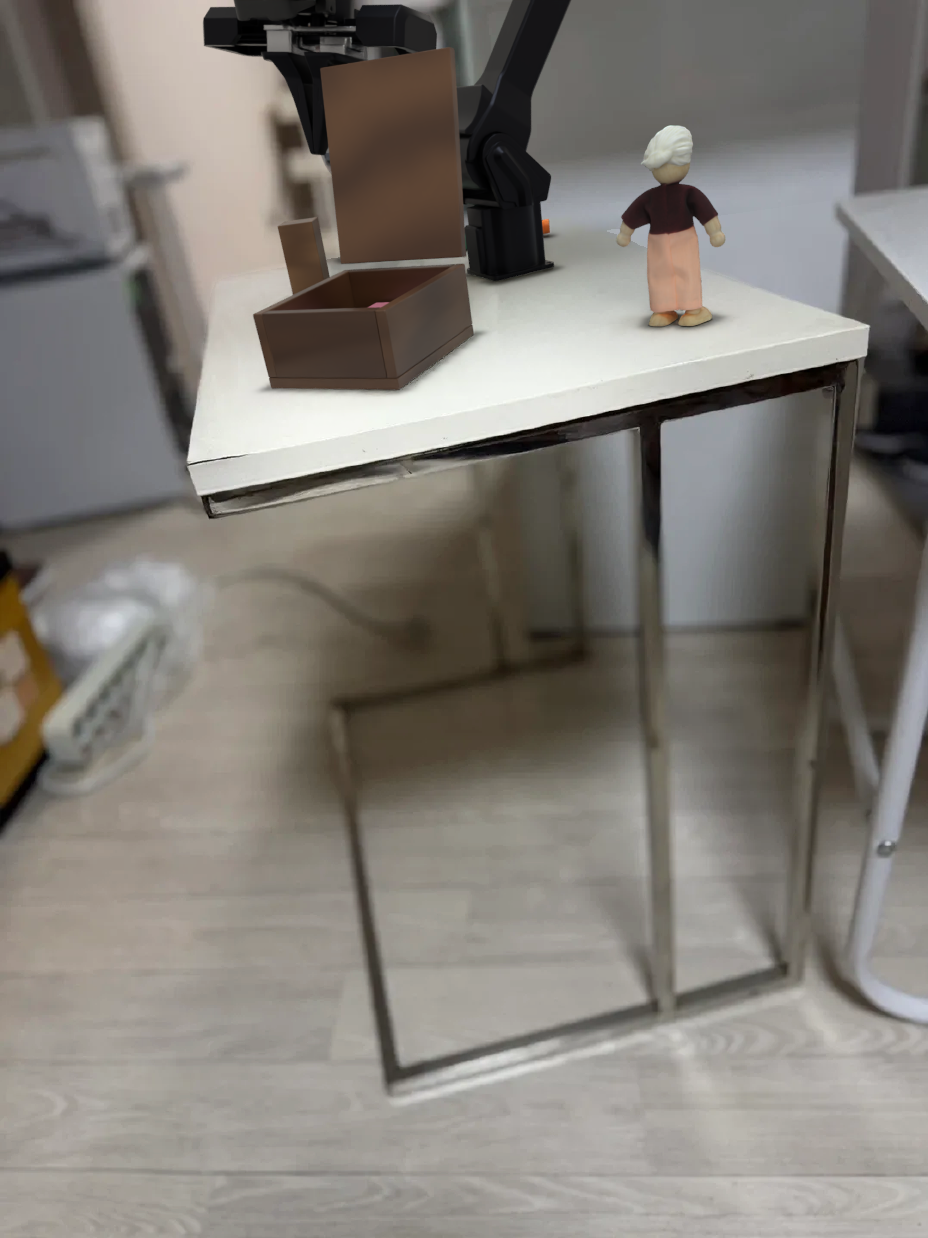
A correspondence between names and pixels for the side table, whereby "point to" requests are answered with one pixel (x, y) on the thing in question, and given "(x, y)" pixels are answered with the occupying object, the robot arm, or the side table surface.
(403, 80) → the lid
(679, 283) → the grandmother figurine
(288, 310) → the chest
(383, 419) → the side table surface
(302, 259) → the stand
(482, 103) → the robot arm
